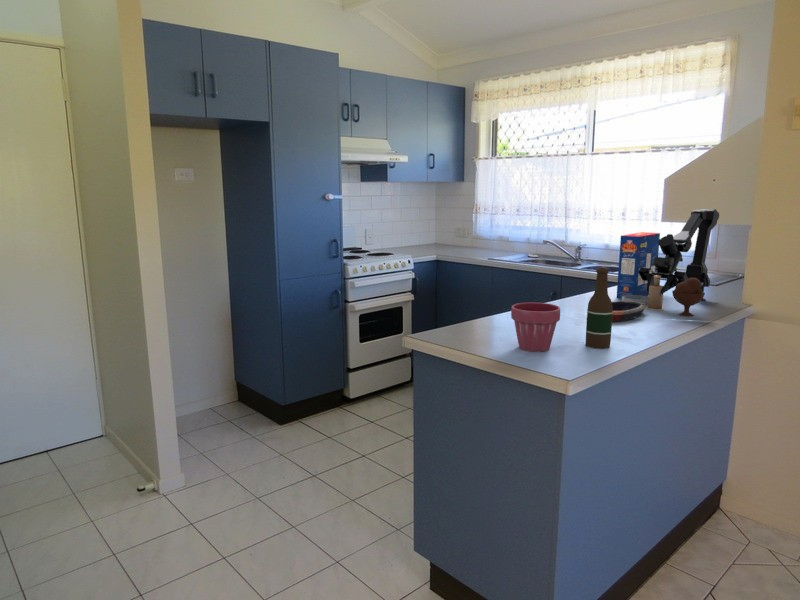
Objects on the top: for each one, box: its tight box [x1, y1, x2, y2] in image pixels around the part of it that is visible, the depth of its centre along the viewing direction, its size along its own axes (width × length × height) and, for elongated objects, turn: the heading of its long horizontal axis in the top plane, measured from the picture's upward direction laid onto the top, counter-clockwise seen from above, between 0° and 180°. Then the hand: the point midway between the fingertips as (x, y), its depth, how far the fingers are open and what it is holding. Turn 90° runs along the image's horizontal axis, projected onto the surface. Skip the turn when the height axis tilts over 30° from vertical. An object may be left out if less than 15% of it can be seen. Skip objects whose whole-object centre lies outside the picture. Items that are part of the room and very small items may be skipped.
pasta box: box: [616, 232, 661, 299], centre depth 262 cm, size 28×8×28 cm, turn 140°
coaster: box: [645, 306, 666, 311], centre depth 233 cm, size 7×7×1 cm
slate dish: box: [621, 295, 648, 306], centre depth 244 cm, size 12×12×3 cm
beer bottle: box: [585, 267, 613, 350], centre depth 175 cm, size 8×8×24 cm
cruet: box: [648, 275, 664, 310], centre depth 232 cm, size 5×5×13 cm
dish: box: [611, 300, 646, 322], centre depth 219 cm, size 16×31×5 cm, turn 129°
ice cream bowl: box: [671, 278, 706, 318], centre depth 218 cm, size 11×11×15 cm
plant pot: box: [510, 301, 561, 353], centre depth 174 cm, size 14×14×13 cm
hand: (654, 292), depth 231 cm, fingers closed on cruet, 5 cm apart
